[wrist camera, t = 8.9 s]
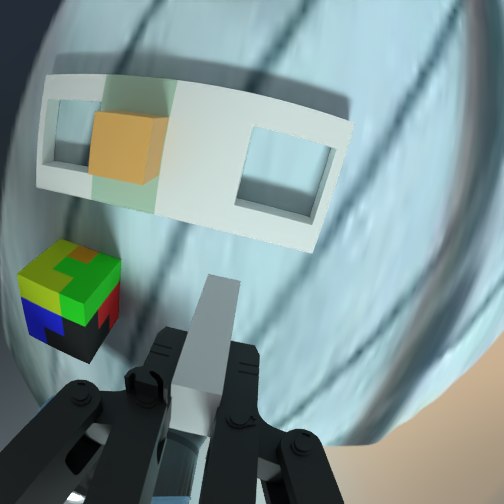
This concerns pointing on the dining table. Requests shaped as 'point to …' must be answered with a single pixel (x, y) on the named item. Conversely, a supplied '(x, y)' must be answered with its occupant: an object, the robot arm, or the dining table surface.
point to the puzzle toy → (71, 298)
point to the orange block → (127, 145)
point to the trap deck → (195, 153)
